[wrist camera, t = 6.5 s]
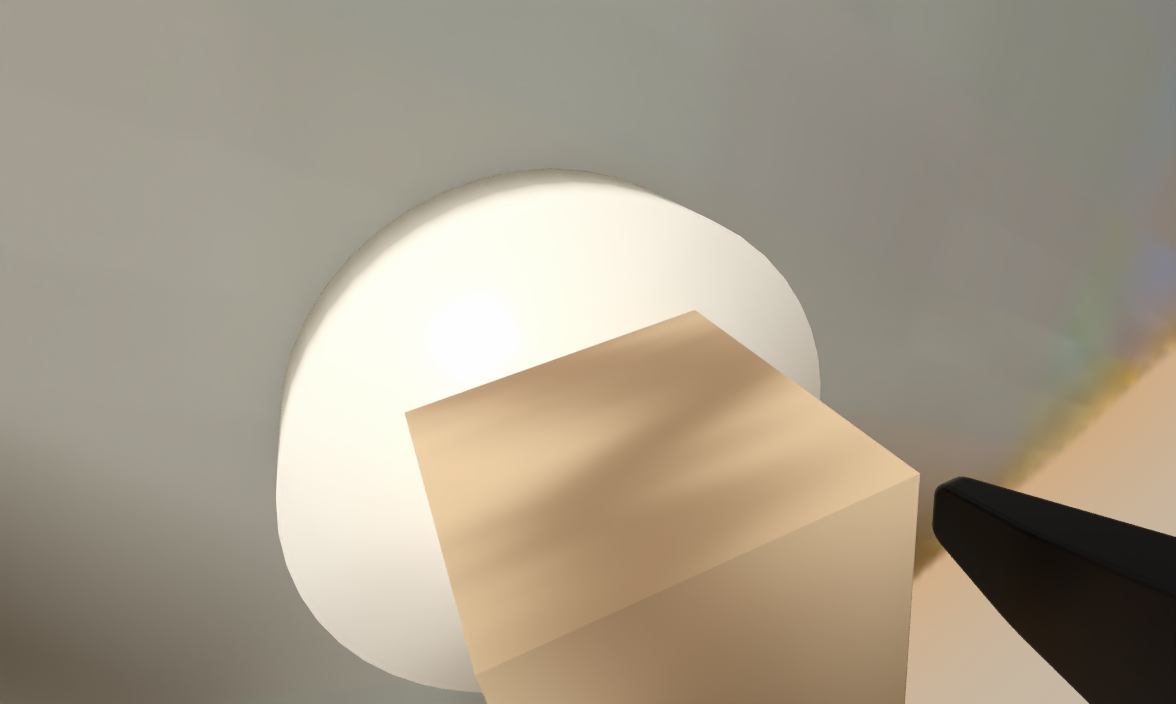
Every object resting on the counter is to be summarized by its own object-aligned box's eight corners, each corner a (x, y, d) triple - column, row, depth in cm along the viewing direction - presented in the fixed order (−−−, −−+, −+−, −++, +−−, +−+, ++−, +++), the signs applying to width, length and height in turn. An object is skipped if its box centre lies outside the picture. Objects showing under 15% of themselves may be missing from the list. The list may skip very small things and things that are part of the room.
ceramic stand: (730, 107, 13) (813, 124, 11) (763, 501, 18) (825, 565, 16) (175, 266, 11) (145, 325, 9) (385, 668, 16) (399, 768, 14)
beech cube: (694, 309, 12) (919, 473, 7) (720, 526, 14) (901, 743, 10) (404, 411, 10) (475, 674, 6) (487, 629, 13) (579, 924, 9)
